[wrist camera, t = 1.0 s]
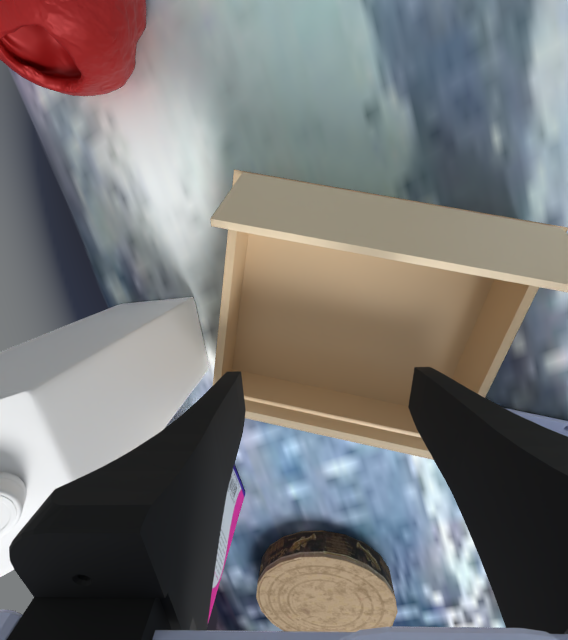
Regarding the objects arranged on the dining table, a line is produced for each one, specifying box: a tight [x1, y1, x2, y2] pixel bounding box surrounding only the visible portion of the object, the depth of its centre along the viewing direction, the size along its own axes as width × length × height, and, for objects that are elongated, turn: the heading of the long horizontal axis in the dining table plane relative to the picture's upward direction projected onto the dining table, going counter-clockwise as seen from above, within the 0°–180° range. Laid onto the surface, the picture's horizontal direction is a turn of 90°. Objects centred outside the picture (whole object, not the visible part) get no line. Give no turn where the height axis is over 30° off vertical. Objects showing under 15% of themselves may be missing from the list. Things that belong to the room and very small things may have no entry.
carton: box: [213, 170, 568, 438], centre depth 21 cm, size 20×17×4 cm
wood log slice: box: [256, 531, 397, 632], centre depth 33 cm, size 16×16×3 cm
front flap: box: [211, 172, 568, 292], centre depth 15 cm, size 19×6×1 cm
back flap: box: [244, 399, 434, 460], centre depth 19 cm, size 19×6×1 cm
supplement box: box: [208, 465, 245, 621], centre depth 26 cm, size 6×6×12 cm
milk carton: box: [0, 297, 209, 577], centre depth 17 cm, size 7×7×19 cm
